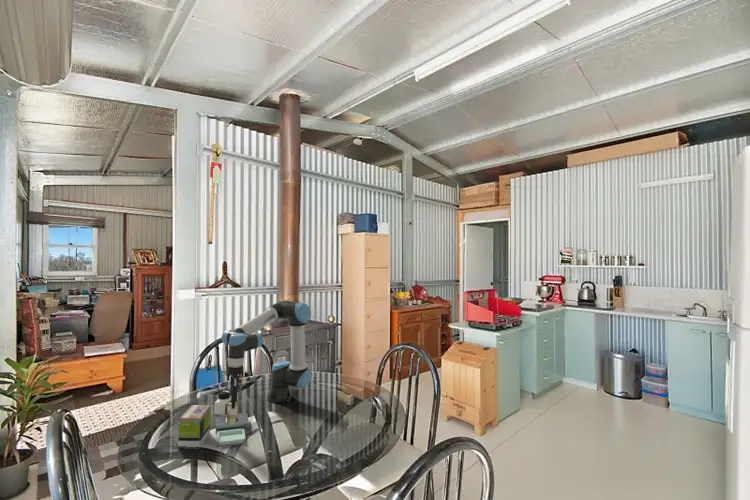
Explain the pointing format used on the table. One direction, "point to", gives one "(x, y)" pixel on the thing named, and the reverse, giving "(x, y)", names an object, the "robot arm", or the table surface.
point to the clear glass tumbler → (231, 418)
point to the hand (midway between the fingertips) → (232, 411)
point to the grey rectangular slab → (241, 423)
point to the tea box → (194, 426)
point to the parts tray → (230, 437)
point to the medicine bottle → (222, 403)
